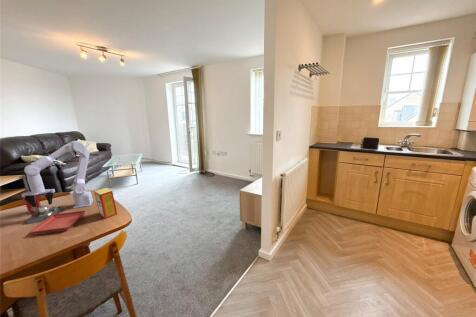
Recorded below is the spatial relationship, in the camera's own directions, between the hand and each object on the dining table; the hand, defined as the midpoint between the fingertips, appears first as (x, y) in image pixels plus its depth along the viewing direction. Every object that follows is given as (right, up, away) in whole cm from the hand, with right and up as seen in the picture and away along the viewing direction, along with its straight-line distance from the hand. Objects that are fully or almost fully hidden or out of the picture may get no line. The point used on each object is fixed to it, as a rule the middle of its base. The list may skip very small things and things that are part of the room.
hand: (42, 205), depth 119 cm
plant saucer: (+18, -10, -7) cm, 22 cm away
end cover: (0, -7, +2) cm, 8 cm away
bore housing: (0, -7, +2) cm, 8 cm away
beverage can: (-13, -6, +8) cm, 17 cm away
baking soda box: (+39, -6, +2) cm, 39 cm away
